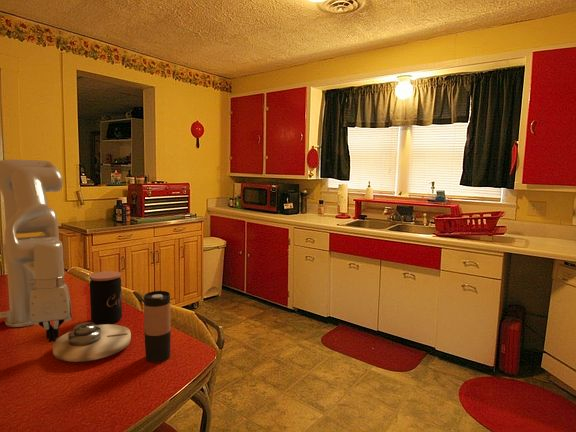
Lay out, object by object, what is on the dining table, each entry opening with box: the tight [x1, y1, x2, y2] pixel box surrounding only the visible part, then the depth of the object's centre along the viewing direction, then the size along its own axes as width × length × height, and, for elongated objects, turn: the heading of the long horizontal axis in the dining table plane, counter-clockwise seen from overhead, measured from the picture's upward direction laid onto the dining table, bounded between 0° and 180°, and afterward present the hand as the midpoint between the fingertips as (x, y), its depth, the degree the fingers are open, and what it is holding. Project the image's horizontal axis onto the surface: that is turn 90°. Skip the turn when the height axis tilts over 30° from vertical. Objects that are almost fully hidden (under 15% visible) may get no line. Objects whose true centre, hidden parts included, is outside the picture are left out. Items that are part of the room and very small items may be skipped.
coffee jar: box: [89, 270, 123, 325], centre depth 141 cm, size 11×11×18 cm
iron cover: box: [68, 321, 101, 346], centre depth 118 cm, size 9×9×5 cm
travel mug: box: [143, 290, 172, 364], centre depth 114 cm, size 8×8×20 cm
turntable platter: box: [52, 324, 132, 363], centre depth 119 cm, size 22×22×2 cm
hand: (53, 340), depth 115 cm, fingers closed
